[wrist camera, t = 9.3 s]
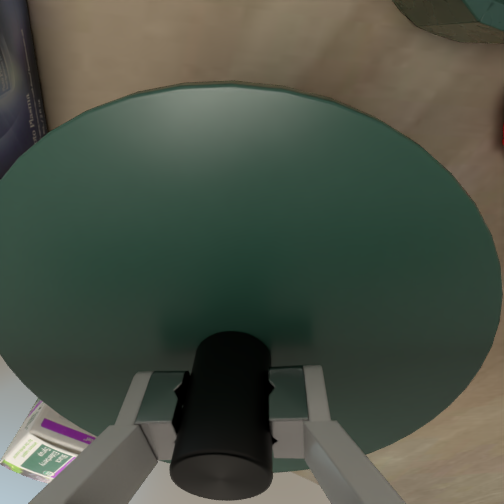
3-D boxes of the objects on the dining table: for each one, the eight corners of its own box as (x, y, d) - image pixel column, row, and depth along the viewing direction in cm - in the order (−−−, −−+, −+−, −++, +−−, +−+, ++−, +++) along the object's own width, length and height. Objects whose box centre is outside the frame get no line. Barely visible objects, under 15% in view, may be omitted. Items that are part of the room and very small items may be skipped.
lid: (568, 35, 7) (1001, 30, 3) (428, 443, 15) (486, 587, 11) (-122, 115, 8) (-492, 189, 4) (101, 448, 16) (49, 578, 13)
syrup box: (115, 280, 32) (20, 432, 19) (168, 311, 34) (111, 467, 21) (89, 312, 34) (-9, 466, 22) (140, 339, 36) (75, 494, 24)
